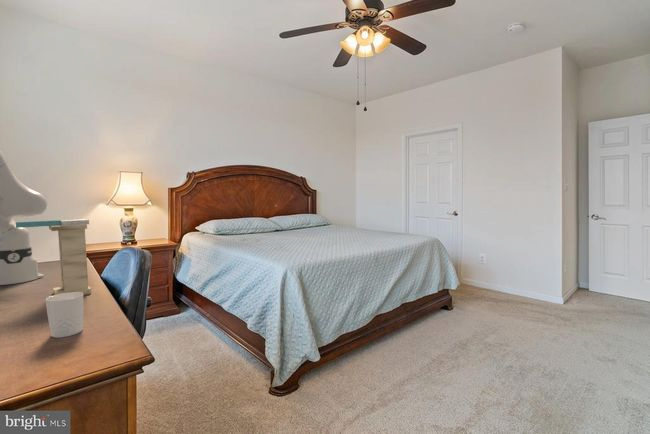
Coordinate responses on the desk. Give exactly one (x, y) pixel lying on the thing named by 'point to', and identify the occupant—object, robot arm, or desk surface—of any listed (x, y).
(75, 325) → the white cup
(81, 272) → the pedestal stand
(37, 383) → the desk surface
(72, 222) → the turner
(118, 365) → the desk surface
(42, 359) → the desk surface
